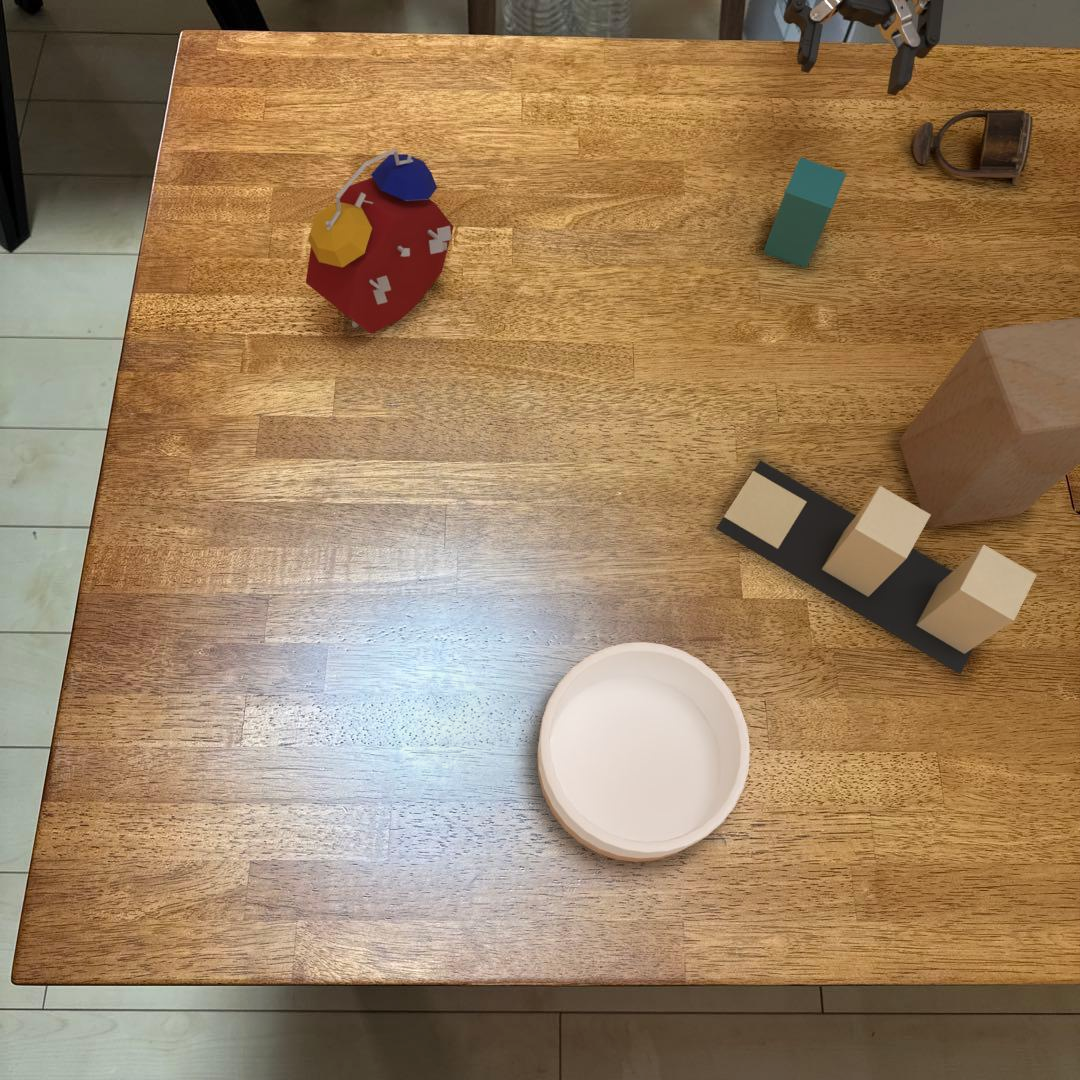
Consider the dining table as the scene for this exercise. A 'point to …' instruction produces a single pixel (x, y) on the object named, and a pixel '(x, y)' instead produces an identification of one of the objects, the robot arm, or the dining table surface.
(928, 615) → the cream block
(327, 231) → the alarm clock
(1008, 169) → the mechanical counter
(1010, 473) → the wooden block
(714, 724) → the bowl
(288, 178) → the dining table surface
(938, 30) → the robot arm
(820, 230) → the teal block
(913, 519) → the cream block
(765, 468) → the mat
